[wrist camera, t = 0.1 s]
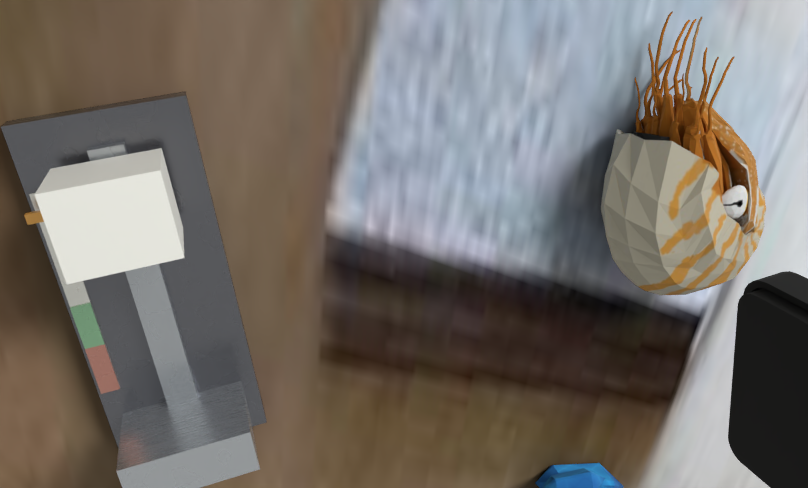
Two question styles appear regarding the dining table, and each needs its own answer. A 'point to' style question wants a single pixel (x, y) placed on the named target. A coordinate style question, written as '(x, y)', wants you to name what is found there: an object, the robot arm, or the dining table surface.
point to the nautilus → (681, 190)
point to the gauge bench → (155, 306)
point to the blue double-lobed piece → (578, 477)
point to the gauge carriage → (110, 215)
